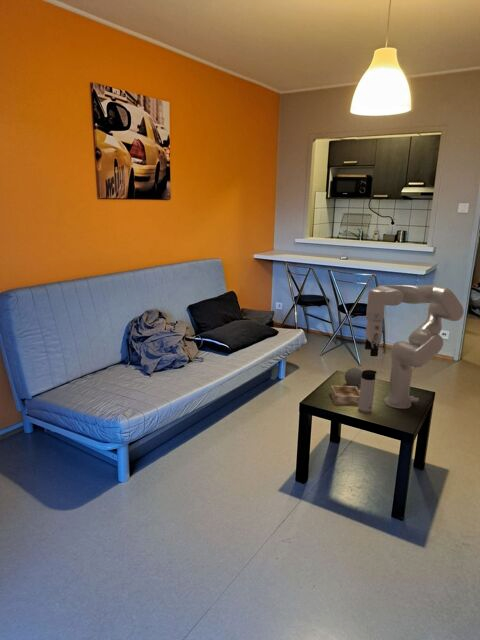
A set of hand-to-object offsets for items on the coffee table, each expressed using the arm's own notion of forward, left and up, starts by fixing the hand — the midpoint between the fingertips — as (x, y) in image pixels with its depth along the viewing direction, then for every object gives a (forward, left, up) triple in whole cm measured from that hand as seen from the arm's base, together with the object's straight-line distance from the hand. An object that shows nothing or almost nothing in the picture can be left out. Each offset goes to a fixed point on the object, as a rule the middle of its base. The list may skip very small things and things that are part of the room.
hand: (370, 352), depth 206 cm
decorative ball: (-1, -30, -29) cm, 42 cm away
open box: (+7, -12, -29) cm, 32 cm away
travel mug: (0, 0, -29) cm, 29 cm away
